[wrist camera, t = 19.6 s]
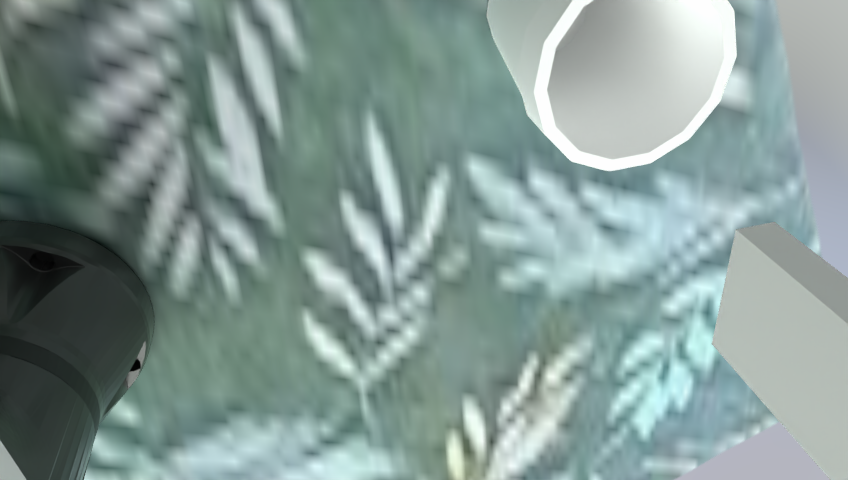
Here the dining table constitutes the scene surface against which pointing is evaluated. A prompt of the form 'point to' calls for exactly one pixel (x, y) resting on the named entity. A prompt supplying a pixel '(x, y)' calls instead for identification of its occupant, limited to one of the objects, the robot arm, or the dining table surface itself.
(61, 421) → the robot arm
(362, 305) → the dining table surface
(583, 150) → the foam cup
